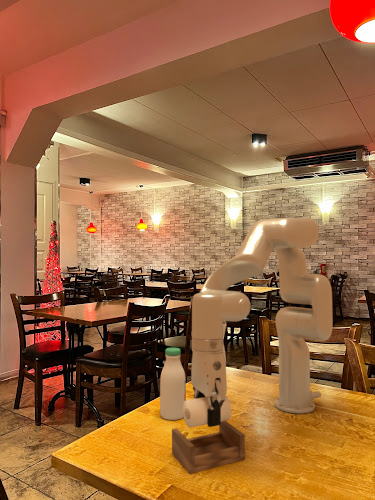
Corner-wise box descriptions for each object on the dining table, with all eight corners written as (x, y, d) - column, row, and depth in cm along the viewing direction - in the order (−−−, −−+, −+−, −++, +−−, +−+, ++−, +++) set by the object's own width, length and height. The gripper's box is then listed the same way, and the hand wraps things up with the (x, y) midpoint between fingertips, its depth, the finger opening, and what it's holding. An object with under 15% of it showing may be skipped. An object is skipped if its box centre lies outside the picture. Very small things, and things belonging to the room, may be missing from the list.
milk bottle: (182, 421, 113) (182, 352, 114) (157, 419, 115) (157, 351, 115) (188, 411, 121) (188, 346, 121) (163, 409, 122) (163, 345, 123)
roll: (219, 415, 98) (219, 391, 99) (232, 423, 93) (232, 398, 93) (181, 422, 94) (181, 396, 94) (192, 431, 88) (192, 404, 89)
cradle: (223, 441, 101) (223, 418, 101) (244, 459, 92) (244, 434, 92) (171, 453, 95) (171, 429, 95) (189, 473, 86) (189, 447, 86)
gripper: (240, 350, 88) (240, 431, 87) (204, 336, 103) (204, 405, 103) (211, 353, 85) (210, 438, 84) (178, 339, 100) (178, 410, 100)
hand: (207, 419), depth 93 cm, fingers closed on roll, 6 cm apart
